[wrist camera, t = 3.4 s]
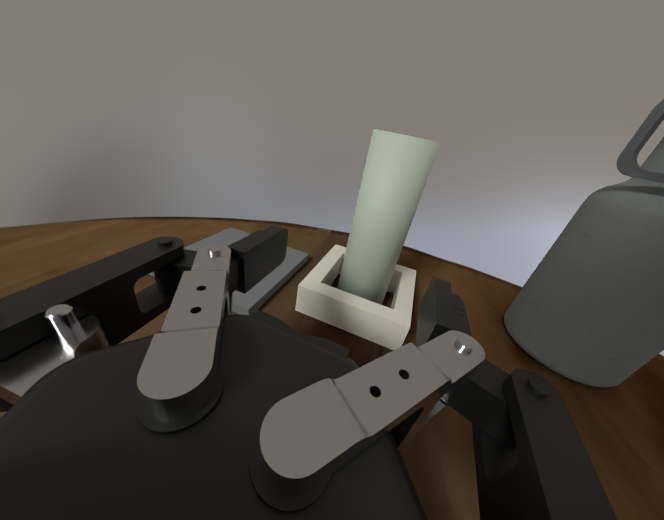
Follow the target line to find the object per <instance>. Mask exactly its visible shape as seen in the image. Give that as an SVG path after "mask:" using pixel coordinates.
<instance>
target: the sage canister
mask: <svg viewBox="0 0 664 520" xmlns="http://www.w3.org/2000/svg"><path fill="white" fill-rule="evenodd" d="M439 145H440V142H436V141H431V140H426V139H421V138H417V137H412V136H407V135H402V134H396V133H391V132H386V131H381V130H376V129H374V130H373V134H372V138H371V143H370V148H369V152H368V156H367V160H366V165H365V169H364V173H363V178H362V182H361V186H360V191H359V195H358V200H357V204H356V209H355V213H354V217H353V221H352V226H351V230H350V234H349V239H348V243H347V247H346V252H345V256H344V261H343V265H342V269H341V274H340V278H339V282H338V287H337V289H340V290H342V291H345V292H348V293H350V294H353V295H356V296H359V297H361V298H364V299H367V300H369V301H372V302H375V303H377V304H380V305H382V303H383V300H384V297H385V294H386V292H387V289H388V286H389V283H390V280H391V278H392V275H393V272H394V269H395V267H396V264H397V261H398V258H399V256H400V253H401V250H402V247H403V244H404V242H405V239H406V236H407V233H408V230H409V228H410V225H411V222H412V219H413V217H414V214H415V211H416V209H417V205H418V203H419V200H420V197H421V195H422V192H423V189H424V186H425V184H426V180H427V178H428V175H429V173H430V170H431V167H432V164H433V161H434V159H435V156H436V153H437V150H438V148H439Z"/></svg>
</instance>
